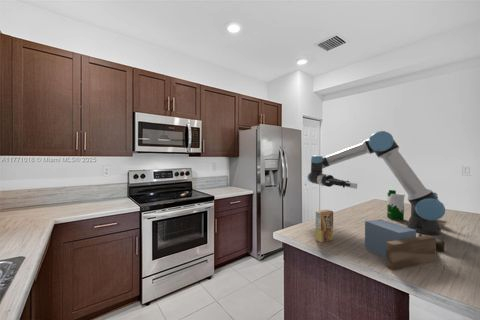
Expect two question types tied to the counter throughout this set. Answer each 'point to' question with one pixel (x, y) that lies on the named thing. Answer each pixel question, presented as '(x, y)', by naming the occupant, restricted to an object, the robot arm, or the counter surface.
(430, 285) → the counter surface
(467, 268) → the counter surface
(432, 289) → the counter surface
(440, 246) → the kendama
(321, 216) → the candy box
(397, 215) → the milk carton
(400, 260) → the board
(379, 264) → the counter surface
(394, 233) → the block
